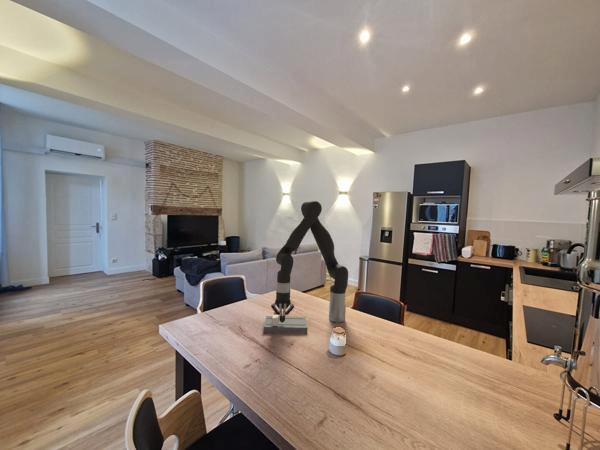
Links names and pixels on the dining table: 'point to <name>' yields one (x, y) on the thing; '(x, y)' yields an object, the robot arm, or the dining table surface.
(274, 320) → the cream fader
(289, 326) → the fader console
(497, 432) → the dining table surface
